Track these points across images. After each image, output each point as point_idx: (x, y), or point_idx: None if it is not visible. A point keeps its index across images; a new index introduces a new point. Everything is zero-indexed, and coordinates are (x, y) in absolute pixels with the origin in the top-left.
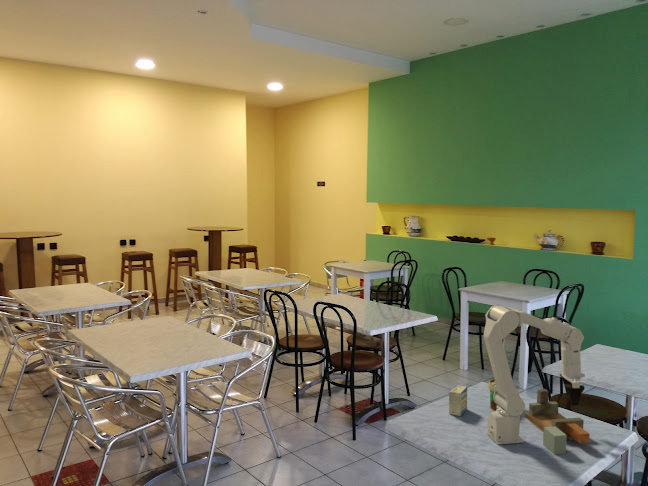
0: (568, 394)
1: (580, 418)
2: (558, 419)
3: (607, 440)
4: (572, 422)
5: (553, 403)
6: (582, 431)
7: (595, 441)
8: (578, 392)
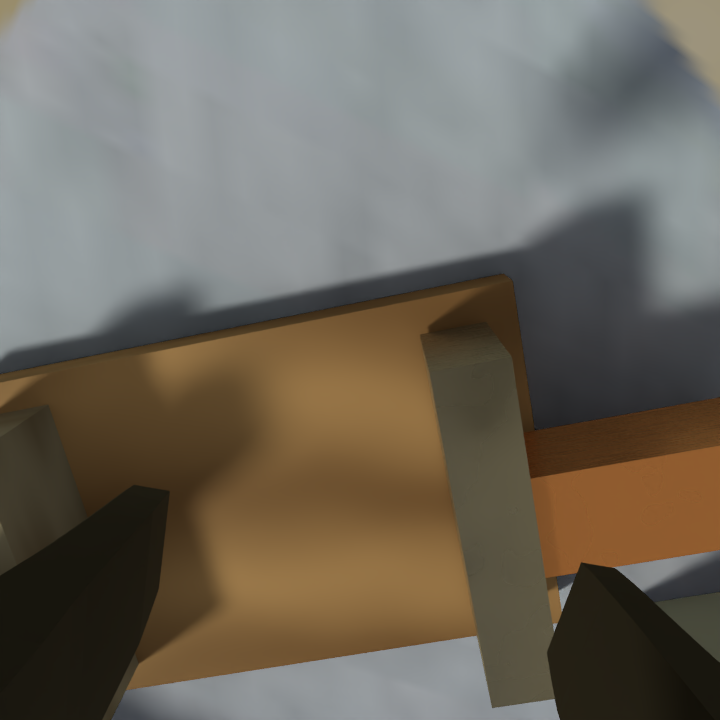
0: (153, 586)
1: (462, 377)
2: (490, 642)
3: (555, 76)
4: (534, 497)
5: None
6: None
7: (574, 221)
8: None
